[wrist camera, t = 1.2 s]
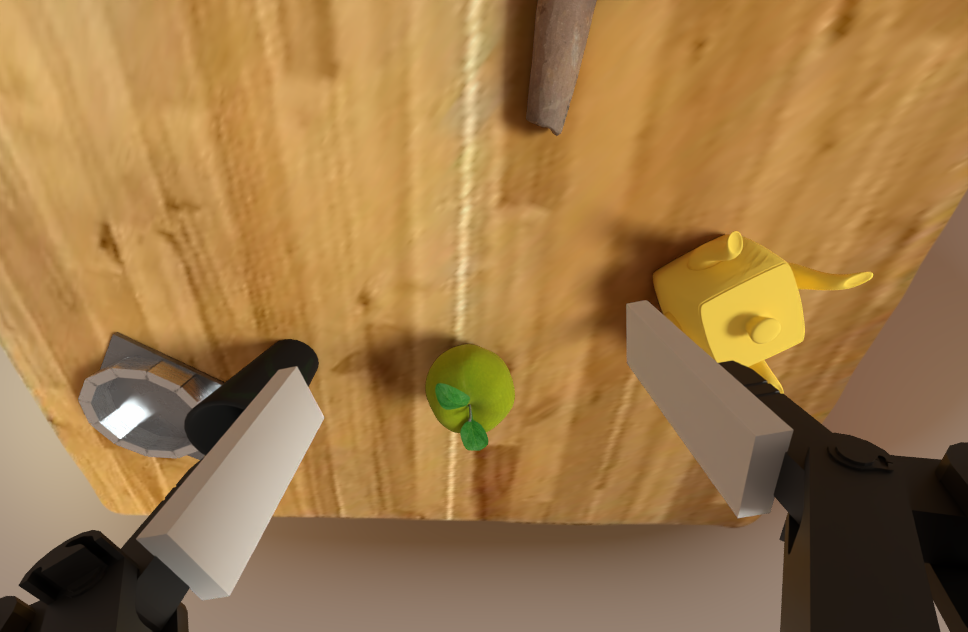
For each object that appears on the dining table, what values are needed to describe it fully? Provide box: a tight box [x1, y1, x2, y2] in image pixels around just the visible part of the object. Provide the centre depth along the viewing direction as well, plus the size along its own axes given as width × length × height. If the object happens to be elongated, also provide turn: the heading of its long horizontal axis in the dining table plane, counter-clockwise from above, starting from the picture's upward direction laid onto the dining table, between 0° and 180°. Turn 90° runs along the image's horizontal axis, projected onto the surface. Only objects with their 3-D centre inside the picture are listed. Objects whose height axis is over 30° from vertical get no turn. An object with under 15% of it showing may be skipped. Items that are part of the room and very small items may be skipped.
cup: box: [184, 339, 319, 456], centre depth 35 cm, size 8×8×12 cm
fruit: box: [425, 344, 515, 450], centre depth 37 cm, size 9×9×10 cm
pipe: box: [526, 0, 597, 136], centre depth 26 cm, size 6×17×10 cm
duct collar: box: [78, 332, 224, 460], centre depth 42 cm, size 14×14×3 cm
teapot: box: [653, 231, 873, 394], centre depth 34 cm, size 15×14×10 cm
